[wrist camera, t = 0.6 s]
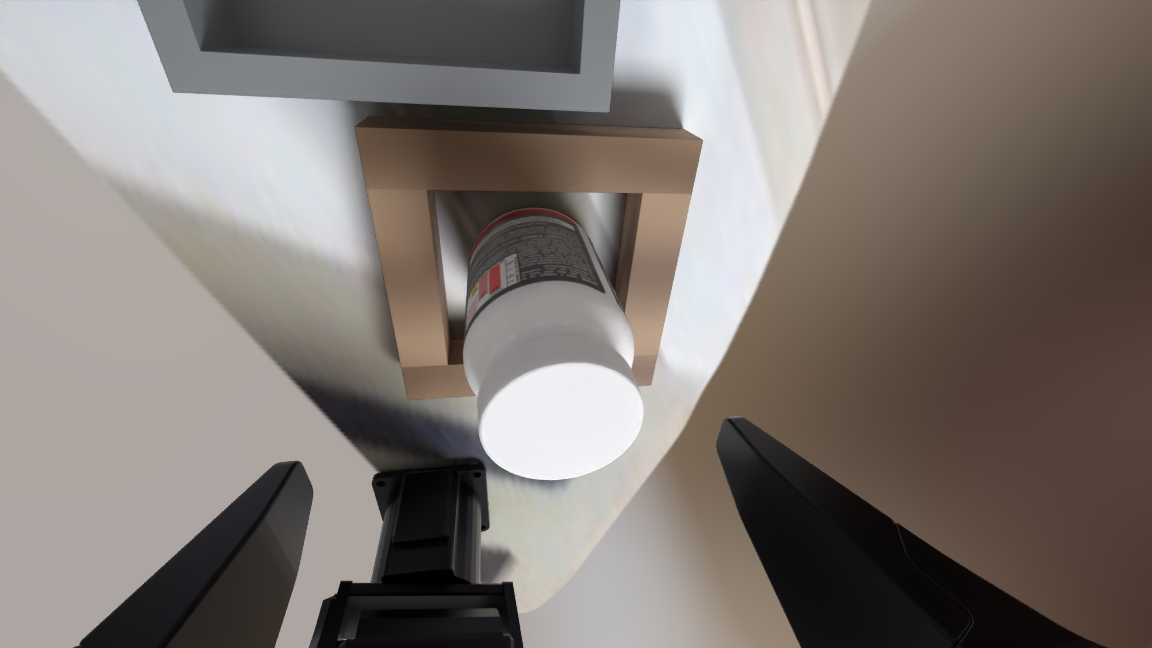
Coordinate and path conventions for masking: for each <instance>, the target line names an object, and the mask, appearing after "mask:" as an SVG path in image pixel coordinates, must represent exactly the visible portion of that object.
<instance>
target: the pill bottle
mask: <svg viewBox="0 0 1152 648" xmlns="http://www.w3.org/2000/svg"><path fill="white" fill-rule="evenodd" d="M633 359H634V340H633V335H632V331H631V328H630V325H629V322H628V319H627V317H626V315H625V313H624V311H623V309H622V306H621V304H620V302H619V300H618V298H617V296H616V294H615V291H614V289H613V287H612V285H611V283H610V280H609V278H608V276H607V274H606V272H605V270H604V267H603V265H602V263H601V261H600V259H599V256H598V254H597V252H596V250H595V248H594V245H593V243H592V242H591V240H590V238H589V237H588V235H587V234H586V232H585V231H584V230H583V229H582V228H581V227H580V226H579V225H578V224H577V223H576V222H575V221H573V220H572V219H571V218H569V217H568V216H566V215H564V214H562V213H559V212H557V211H554V210H550V209H545V208H533V207H531V208H522V209H517V210H513V211H510V212H508V213H506V214H503V215H501V216H500V217H498V218H496V219H495V220H494V221H492V222H491V223H490V224H489V225H488V226H487V227H486V228H485V229H484V230H483V231H482V232H481V233H480V235H479V236H478V238H477V239H476V241H475V243H474V245H473V247H472V250H471V254H470V258H469V264H468V280H467V296H466V313H465V325H464V342H463V363H464V370H465V375H466V378H467V380H468V383H469V385H470V387H471V389H472V391H473V392H474V394H475V395H476V397H477V407H478V431H479V438H480V441H481V444H482V446H483V448H484V450H485V451H486V453H487V454H488V456H489V457H490V458H491V459H492V460H493V461H494V462H495V463H496V464H498V465H499V466H500V467H502V468H504V469H505V470H507V471H509V472H511V473H514V474H516V475H519V476H523V477H526V478H532V479H541V480H559V479H567V478H573V477H577V476H581V475H584V474H587V473H590V472H593V471H595V470H597V469H599V468H601V467H603V466H605V465H607V464H609V463H610V462H612V461H613V460H615V459H616V458H617V457H619V456H620V455H621V454H622V453H623V452H624V451H625V450H626V449H627V448H628V447H629V446H630V445H631V443H632V442H633V441H634V439H635V437H636V436H637V434H638V432H639V430H640V427H641V424H642V421H643V412H644V408H643V400H642V396H641V393H640V390H639V387H638V385H637V382H636V379H635V377H634V375H633V372H632V370H631V368H632V364H633Z"/></svg>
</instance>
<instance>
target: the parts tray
mask: <svg viewBox="0 0 1152 648" xmlns="http://www.w3.org/2000/svg"><path fill="white" fill-rule="evenodd" d="M137 1H138V4H139V6H140V9H141V11H142V14H143V17H144V19H145V22H146V24H147V27H148V29H149V32H150V34H151V37H152V40H153V42H154V45H155V47H156V50H157V52H158V55H159V58H160V60H161V63H162V65H163V68H164V70H165V73H166V75H167V78H168V81H169V83H170V86H171V88H172V91H173V92H175V93H196V94H218V95H239V96H261V97H283V98H304V99H326V100H347V101H369V102H390V103H412V104H433V105H455V106H477V107H498V108H520V109H541V110H563V111H584V112H606V113H609V111H610V101H611V90H612V80H613V70H614V60H615V50H616V40H617V30H618V19H619V9H620V0H137Z"/></svg>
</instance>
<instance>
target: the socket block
mask: <svg viewBox="0 0 1152 648" xmlns="http://www.w3.org/2000/svg"><path fill="white" fill-rule="evenodd" d="M355 132H356V138H357V143H358V148H359V153H360V158H361V163H362V168H363V173H364V178H365V184H366V189H367V194H368V199H369V204H370V209H371V214H372V219H373V224H374V230H375V235H376V240H377V245H378V250H379V255H380V260H381V265H382V270H383V276H384V281H385V286H386V291H387V296H388V301H389V306H390V311H391V317H392V322H393V327H394V332H395V337H396V342H397V347H398V352H399V357H400V363H401V368H402V373H403V378H404V383H405V388H406V393H407V398H408V400H418V399H434V398H451V397H467V396H476V395H475V394H474V392H473V391H472V389H471V387H470V385H469V383H468V380H467V378H466V375H465V370H464V363H463V342H464V339H451V337H450V328H449V319H448V311H447V302H446V293H445V284H444V275H443V266H442V257H441V248H440V239H439V230H438V221H437V212H436V203H435V194H434V190H465V191H530V192H596V193H627V201H626V208H625V216H624V224H623V231H622V239H621V246H620V254H619V262H618V269H617V277H616V284H615V294H616V296H617V298H618V300H619V302H620V304H621V306H622V309H623V311H624V313H625V315H626V317H627V319H628V322H629V325H630V328H631V331H632V335H633V340H634V359H633V364H632V368H631V370H632V372H633V375H634V377H635V379H636V382H637V385H638V386H648V385H651V383H652V378H653V374H654V369H655V364H656V360H657V355H658V350H659V345H660V341H661V336H662V331H663V327H664V322H665V317H666V313H667V308H668V303H669V298H670V294H671V289H672V284H673V280H674V275H675V270H676V265H677V261H678V256H679V251H680V247H681V242H682V237H683V233H684V228H685V223H686V218H687V214H688V209H689V204H690V200H691V195H692V190H693V185H694V181H695V176H696V171H697V167H698V162H699V157H700V152H701V148H702V143H703V140H702V139H700V138H699V137H697V136H695V135H693V134H692V133H690V132H688V131H686V130H685V129H671V128H647V127H623V126H598V125H574V124H550V123H526V122H501V121H477V120H453V119H429V118H404V117H380V116H367V117H366V118H365V119H364V120H363V121H361V122H360V123H359V124H358V125H357V126H355Z"/></svg>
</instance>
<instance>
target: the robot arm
mask: <svg viewBox="0 0 1152 648" xmlns="http://www.w3.org/2000/svg"><path fill="white" fill-rule="evenodd" d="M716 444H717V445H716V447H717V452H718V456H719V459H720V461H721V464H722V467H723V470H724V473H725V476H726V479H727V482H728V485H729V488H730V490H731V493H732V496H733V499H734V502H735V505H736V508H737V510H738V513H739V515H740V517H741V520H742V522H743V524H744V526H745V529H746V531H747V533H748V535H749V537H750V539H751V541H752V544H753V546H754V548H755V550H756V552H757V554H758V557H759V559H760V561H761V563H762V565H763V567H764V569H765V572H766V574H767V576H768V578H769V580H770V582H771V584H772V587H773V589H774V591H775V593H776V595H777V597H778V599H779V601H780V604H781V606H782V608H783V610H784V612H785V614H786V616H787V619H788V621H789V623H790V625H791V627H792V629H793V632H794V634H795V636H796V638H797V640H798V642H799V644H800V647H801V648H1108V647H1105V646H1102V645H1100V644H1097V643H1095V642H1093V641H1091V640H1088V639H1086V638H1084V637H1082V636H1080V635H1078V634H1076V633H1074V632H1072V631H1070V630H1068V629H1066V628H1065V627H1063V626H1061V625H1059V624H1057V623H1056V622H1054V621H1052V620H1051V619H1049V618H1047V617H1046V616H1044V615H1042V614H1040V613H1039V612H1038V611H1036V610H1034V609H1033V608H1031V607H1029V606H1028V605H1026V604H1024V603H1023V602H1021V601H1019V600H1018V599H1016V598H1014V597H1013V596H1011V595H1009V594H1008V593H1006V592H1005V591H1003V590H1001V589H1000V588H998V587H996V586H994V585H993V584H991V583H990V582H988V581H986V580H985V579H983V578H981V577H980V576H978V575H977V574H975V573H973V572H972V571H970V570H968V569H967V568H965V567H964V566H962V565H960V564H959V563H957V562H956V561H954V560H952V559H951V558H949V557H948V556H946V555H945V554H943V553H941V552H940V551H938V550H937V549H936V548H934V547H933V546H931V545H930V544H928V543H927V542H925V541H924V540H922V539H920V538H919V537H918V536H916V535H914V534H913V533H911V532H910V531H909V530H907V529H906V528H904V527H903V526H901V525H900V524H898V523H896V522H895V523H894V521H893V520H892V519H891V518H890V517H888V516H887V515H885V514H884V513H882V512H881V511H879V510H878V509H876V508H875V507H874V506H872V505H871V504H869V503H868V502H866V501H865V500H863V499H862V498H861V497H859V496H858V495H856V494H855V493H853V492H852V491H850V490H849V489H848V488H846V487H845V486H843V485H842V484H840V483H839V482H837V481H836V480H834V479H833V478H832V477H830V476H829V475H827V474H826V473H824V472H823V471H821V470H820V469H818V468H817V467H816V466H814V465H813V464H811V463H810V462H808V461H807V460H805V459H804V458H802V457H801V456H799V455H798V454H797V453H795V452H794V451H792V450H791V449H789V448H788V447H787V446H785V445H784V444H782V443H781V442H779V441H778V440H776V439H775V438H773V437H772V436H771V435H769V434H768V433H766V432H765V431H763V430H762V429H760V428H759V427H757V426H756V425H755V424H753V423H752V422H750V421H749V420H747V419H746V418H744V417H741V416H736V417H727V418H725V419H724V420H723V422H722V426H721V429H720V432H719V435H718V439H717V443H716ZM372 486H373V490H374V493H375V497H376V500H377V503H378V507H379V510H380V513H381V517H382V520H383V526H382V531H381V536H380V540H379V545H378V550H377V555H376V559H375V565H374V569H373V574H372V579H371V583H352V581H341V582H340V586H339V589H338V592H337V594H335V595H334V596H332V597H330V598H328V599H325V600H323V603H322V606H321V610H320V613H319V617H318V620H317V624H316V627H315V631H314V634H313V637H312V640H311V643H310V646H309V648H523V642H522V637H521V631H520V624H519V618H518V612H517V606H516V600H515V594H514V588H513V582H502V583H480V563H481V532H483V531H486V530H488V529H489V527H490V521H489V507H488V493H487V479H486V468H485V466H483V465H481V464H474V465H463V466H451V467H439V468H428V469H416V470H404V471H393V472H381V473H377V474H375V475H374V477H373V480H372ZM312 499H313V488H312V485H311V482H310V480H309V478H308V476H307V473H306V471H305V469H304V466H303V465H302V463H301V462H299V461H289V462H280V463H277V464H275V465H274V466H272V467H271V468H270V469H269V470H268V471H267V472H266V473H264V474H263V475H262V476H261V477H260V478H259V479H258V480H257V481H256V482H255V483H253V484H252V485H251V486H250V487H249V488H248V489H247V490H246V491H245V492H244V493H243V494H241V495H240V496H239V497H238V498H237V499H236V500H235V501H234V502H233V503H231V504H230V505H229V506H228V507H227V508H226V509H225V510H224V511H223V512H222V513H221V514H219V515H218V516H217V517H216V518H215V519H214V520H213V521H212V522H211V523H210V524H208V525H207V526H206V527H205V528H204V529H203V530H202V531H201V532H200V533H199V534H197V535H196V536H195V537H194V538H193V539H192V540H191V541H190V542H189V543H188V544H187V545H186V546H184V547H183V548H182V549H181V550H180V551H179V552H178V553H177V554H176V555H175V556H173V557H172V558H171V559H170V560H169V561H168V562H167V563H166V564H165V565H164V566H163V567H161V568H160V569H159V570H158V571H157V572H156V573H155V574H154V575H153V576H151V577H150V578H149V579H148V580H147V581H146V582H145V583H144V584H143V585H142V586H141V587H139V588H138V589H137V590H136V591H135V592H134V593H133V594H132V595H131V596H130V597H128V598H127V599H126V600H125V601H124V602H123V603H122V604H121V605H120V606H119V607H118V608H116V609H115V610H114V611H113V612H112V613H111V614H110V615H109V616H108V617H107V618H105V619H104V620H103V621H102V622H101V623H100V624H99V625H98V626H97V627H96V628H95V629H93V630H92V631H91V632H90V633H89V634H88V635H87V636H86V637H85V638H84V639H82V640H81V642H80V644H79V646H76V647H74V648H274V647H275V644H276V641H277V638H278V635H279V632H280V628H281V625H282V622H283V619H284V616H285V613H286V610H287V606H288V603H289V600H290V597H291V594H292V591H293V587H294V584H295V581H296V577H297V573H298V569H299V564H300V560H301V554H302V550H303V545H304V540H305V535H306V530H307V525H308V520H309V514H310V509H311V505H312ZM343 639H346V640H343Z"/></svg>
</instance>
